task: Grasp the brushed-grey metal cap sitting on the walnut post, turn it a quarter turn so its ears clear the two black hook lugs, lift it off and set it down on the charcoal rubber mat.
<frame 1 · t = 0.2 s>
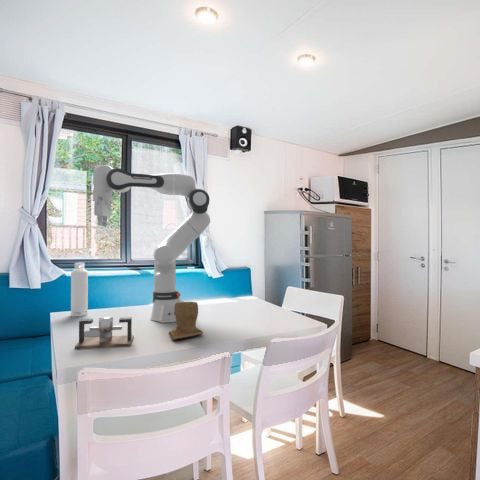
hand: (102, 225, 164), 48 cm above the table, fingers open, 8 cm apart
bayonet post: (105, 342, 131), on the table
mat: (94, 334, 142), on the table
bottle: (79, 315, 177), on the table
cap: (105, 330, 131), point 5 cm above the table, touching bayonet post
brown upright based slab: (184, 336, 141), on the table
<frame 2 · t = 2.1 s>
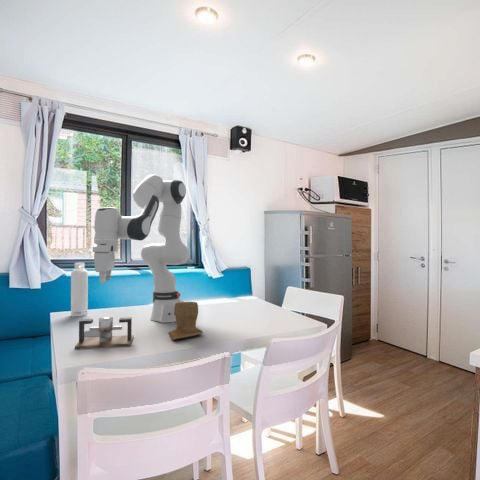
hand: (105, 281, 132), 24 cm above the table, fingers open, 8 cm apart
nothing on the table moved.
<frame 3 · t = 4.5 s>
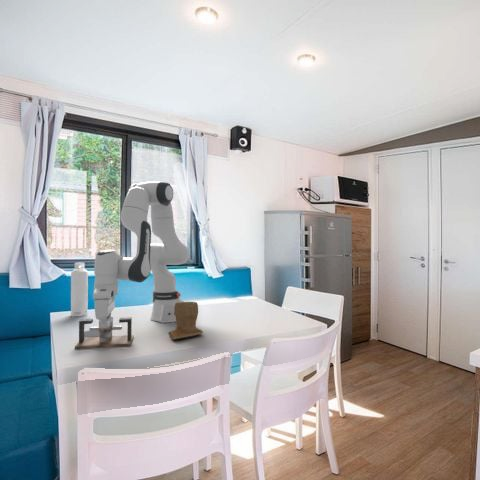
hand: (106, 325, 131), 7 cm above the table, fingers closed on cap, 5 cm apart
cap: (105, 330, 131), point 5 cm above the table, touching bayonet post, gripper
everything else where it was.
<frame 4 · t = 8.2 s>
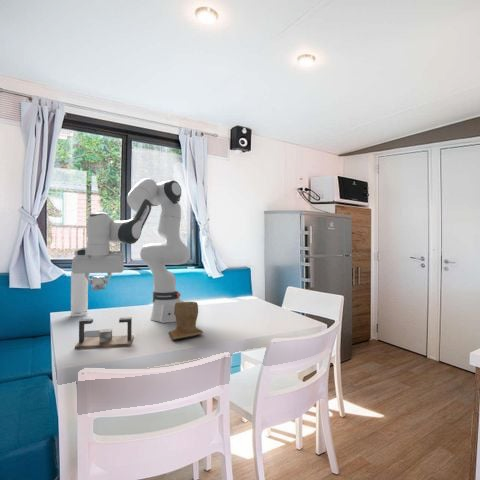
hand: (98, 283, 139), 23 cm above the table, fingers closed on cap, 5 cm apart
cap: (98, 288, 139), point 20 cm above the table, touching gripper
everything else where it was.
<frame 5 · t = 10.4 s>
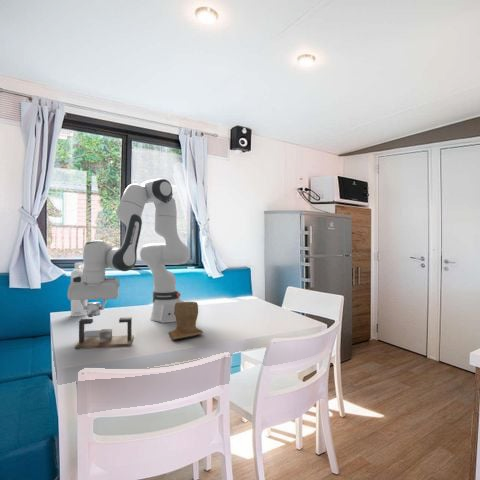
hand: (93, 309, 141), 11 cm above the table, fingers closed on cap, 5 cm apart
cap: (93, 314, 141), point 9 cm above the table, touching gripper
everything else where it was.
when the fingers open (4 cm above the table, at t = 12.3 s): cap drops 1 cm, resting on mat.
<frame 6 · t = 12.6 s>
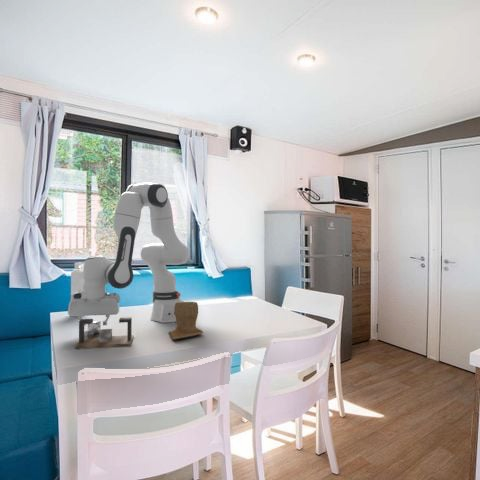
hand: (94, 325, 142), 4 cm above the table, fingers open, 7 cm apart
cap: (94, 333, 142), point 1 cm above the table, touching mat
everything else where it was.
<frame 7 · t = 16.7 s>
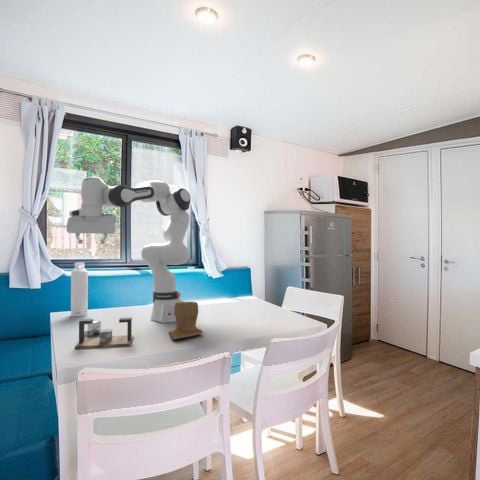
hand: (91, 243, 148), 39 cm above the table, fingers open, 8 cm apart
nothing on the table moved.
at the end: cap inside the target area on the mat (0.1 cm from its centre), point 0.6 cm above the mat's base; cap tilted 0°; the gripper is holding nothing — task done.
